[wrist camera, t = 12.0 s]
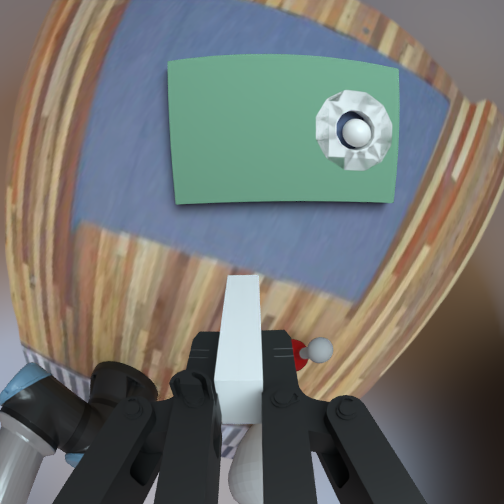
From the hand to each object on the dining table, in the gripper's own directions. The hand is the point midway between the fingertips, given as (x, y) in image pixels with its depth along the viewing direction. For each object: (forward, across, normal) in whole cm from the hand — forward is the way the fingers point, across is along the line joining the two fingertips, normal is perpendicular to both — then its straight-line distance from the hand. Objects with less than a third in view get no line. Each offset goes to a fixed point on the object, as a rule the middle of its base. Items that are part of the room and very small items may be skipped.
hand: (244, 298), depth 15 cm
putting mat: (+24, +5, +8) cm, 26 cm away
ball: (+23, +13, +8) cm, 27 cm away
